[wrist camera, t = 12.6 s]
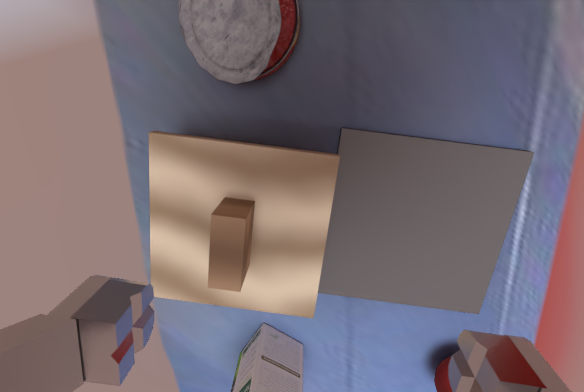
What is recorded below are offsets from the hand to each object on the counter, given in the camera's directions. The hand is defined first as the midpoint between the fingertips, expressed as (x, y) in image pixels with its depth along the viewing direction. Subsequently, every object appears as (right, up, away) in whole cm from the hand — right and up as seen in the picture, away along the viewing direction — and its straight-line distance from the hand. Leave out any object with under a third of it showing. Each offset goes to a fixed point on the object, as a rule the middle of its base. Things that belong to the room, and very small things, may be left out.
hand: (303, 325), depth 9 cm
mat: (+12, 0, +26) cm, 29 cm away
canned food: (-4, +19, +21) cm, 29 cm away
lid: (-5, +1, +21) cm, 21 cm away
